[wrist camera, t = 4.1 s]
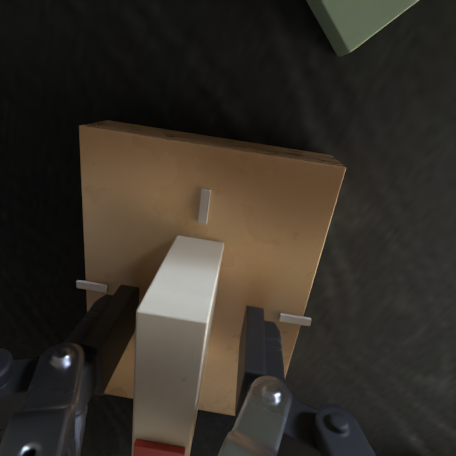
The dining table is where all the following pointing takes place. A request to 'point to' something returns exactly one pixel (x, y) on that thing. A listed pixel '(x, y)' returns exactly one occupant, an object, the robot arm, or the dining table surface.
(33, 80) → the dining table surface
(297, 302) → the panel
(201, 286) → the knob
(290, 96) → the dining table surface
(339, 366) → the dining table surface
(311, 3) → the button box
